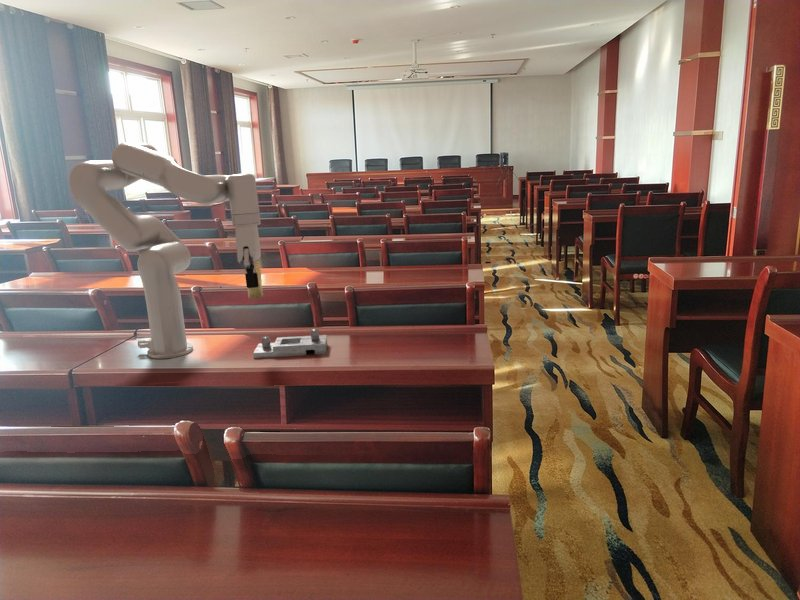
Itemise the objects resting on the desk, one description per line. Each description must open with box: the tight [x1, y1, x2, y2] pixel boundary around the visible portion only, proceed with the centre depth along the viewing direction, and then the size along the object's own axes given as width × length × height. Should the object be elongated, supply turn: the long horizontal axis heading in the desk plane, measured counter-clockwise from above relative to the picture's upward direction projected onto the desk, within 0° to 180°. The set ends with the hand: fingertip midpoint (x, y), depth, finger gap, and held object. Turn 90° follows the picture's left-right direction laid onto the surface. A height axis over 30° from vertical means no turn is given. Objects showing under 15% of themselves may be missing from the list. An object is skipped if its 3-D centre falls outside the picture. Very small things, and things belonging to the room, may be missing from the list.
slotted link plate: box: [253, 335, 308, 359], centre depth 173 cm, size 14×9×4 cm, turn 94°
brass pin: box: [246, 259, 264, 299], centre depth 168 cm, size 4×4×10 cm
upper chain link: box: [273, 328, 328, 355], centre depth 173 cm, size 14×9×6 cm, turn 94°
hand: (254, 285), depth 168 cm, fingers closed on brass pin, 4 cm apart
